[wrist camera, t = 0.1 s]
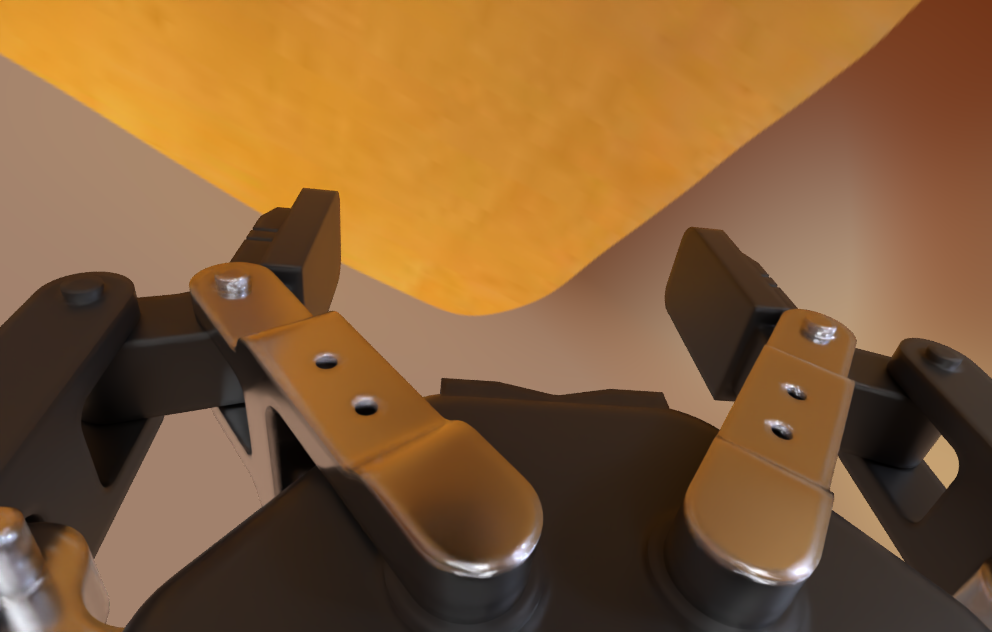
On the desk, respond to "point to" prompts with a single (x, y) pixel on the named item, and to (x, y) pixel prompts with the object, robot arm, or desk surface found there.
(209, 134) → the desk surface
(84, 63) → the desk surface
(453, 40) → the desk surface
